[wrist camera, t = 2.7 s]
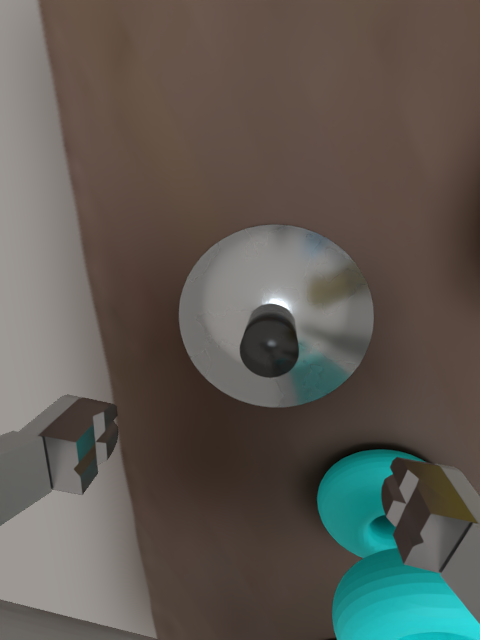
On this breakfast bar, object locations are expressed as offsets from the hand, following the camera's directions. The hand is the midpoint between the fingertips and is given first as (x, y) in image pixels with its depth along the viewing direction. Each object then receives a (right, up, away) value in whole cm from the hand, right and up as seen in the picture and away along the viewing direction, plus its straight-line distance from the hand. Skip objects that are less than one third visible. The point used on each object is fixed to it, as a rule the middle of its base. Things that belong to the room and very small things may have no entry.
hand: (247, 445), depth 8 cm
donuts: (+11, -10, +15) cm, 21 cm away
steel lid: (+2, +4, +12) cm, 12 cm away
